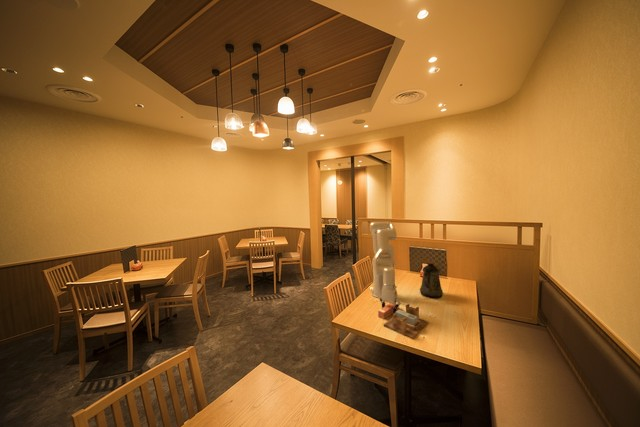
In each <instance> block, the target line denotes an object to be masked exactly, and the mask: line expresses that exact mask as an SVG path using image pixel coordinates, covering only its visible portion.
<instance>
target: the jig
mask: <svg viewBox="0 0 640 427" xmlns="http://www.w3.org/2000/svg"><path fill="white" fill-rule="evenodd" d="M405 312H407V313H409V314H412V315H414V316H417V325H416V326H413V325H411V324H408V323H407V317H404V318H403V319H402V318H400V317H397V314H396V313H395V314H394V313H392V316H391V318H390V319H389V320H387V321H386V322H385V323H383V327H384V328H387V329H390V330H391V331H393V332H396V333H398V334H401V335H402V336H405V337H407V338H409V339H411V340H413V339H415V338H416V336H417V335H419V334H420V333H421V332H422V331H423V330H424V329H425V328H426V327H427V325H429V321H427V320H425V319H422V318H420V307H419V306H416V307H412V306H410V303H407V304H405Z"/></svg>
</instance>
